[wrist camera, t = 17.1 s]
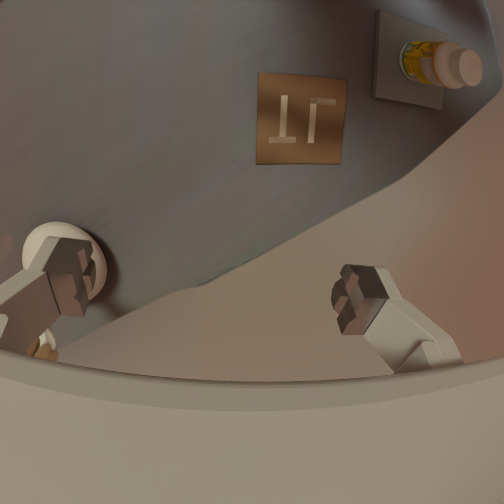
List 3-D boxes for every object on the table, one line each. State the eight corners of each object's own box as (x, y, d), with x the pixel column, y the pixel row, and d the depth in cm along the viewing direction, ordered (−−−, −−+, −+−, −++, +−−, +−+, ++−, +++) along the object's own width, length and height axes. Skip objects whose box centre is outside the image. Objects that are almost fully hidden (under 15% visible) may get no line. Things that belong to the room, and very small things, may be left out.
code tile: (258, 72, 29) (258, 72, 29) (346, 80, 31) (347, 80, 31) (255, 163, 34) (256, 164, 34) (339, 163, 36) (339, 163, 36)
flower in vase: (100, 304, 40) (72, 484, 19) (24, 280, 35) (-43, 443, 14) (123, 220, 35) (74, 422, 14) (35, 191, 30) (-90, 352, 9)
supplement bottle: (403, 85, 32) (459, 97, 24) (392, 44, 29) (449, 44, 21) (434, 78, 31) (489, 89, 23) (424, 38, 29) (481, 41, 20)
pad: (376, 10, 27) (379, 10, 26) (443, 34, 29) (447, 34, 28) (371, 96, 33) (375, 97, 32) (438, 109, 35) (441, 110, 34)
